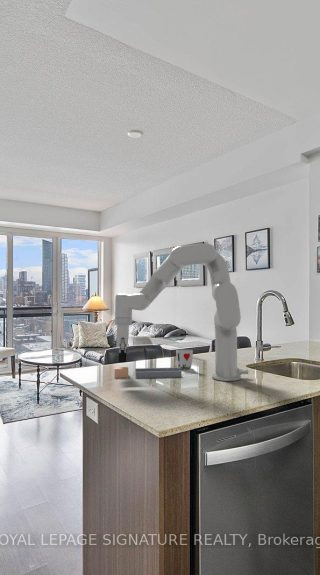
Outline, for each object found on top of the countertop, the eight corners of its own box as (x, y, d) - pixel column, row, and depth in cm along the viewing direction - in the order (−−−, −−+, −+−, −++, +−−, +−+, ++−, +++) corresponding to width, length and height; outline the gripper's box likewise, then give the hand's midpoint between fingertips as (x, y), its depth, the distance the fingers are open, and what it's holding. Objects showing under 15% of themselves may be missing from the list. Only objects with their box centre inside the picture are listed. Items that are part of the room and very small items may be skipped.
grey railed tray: (179, 375, 173) (178, 367, 173) (181, 379, 164) (181, 371, 164) (135, 376, 171) (135, 368, 171) (135, 380, 162) (135, 372, 163)
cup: (174, 372, 180) (174, 351, 180) (178, 369, 188) (178, 349, 188) (191, 373, 177) (190, 352, 178) (194, 370, 185) (194, 349, 185)
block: (128, 366, 169) (114, 367, 169) (128, 368, 164) (114, 369, 164) (128, 377, 169) (115, 378, 169) (128, 380, 164) (114, 380, 164)
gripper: (115, 320, 175) (115, 357, 175) (114, 322, 158) (113, 363, 158) (131, 320, 176) (131, 357, 175) (131, 322, 159) (131, 363, 158)
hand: (122, 360), depth 167 cm, fingers open, 9 cm apart
